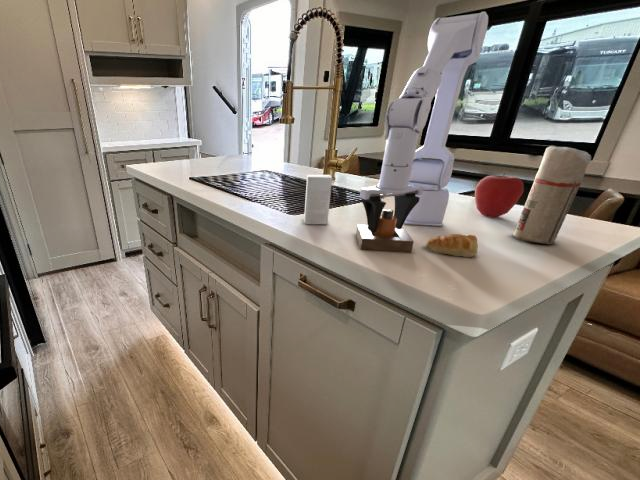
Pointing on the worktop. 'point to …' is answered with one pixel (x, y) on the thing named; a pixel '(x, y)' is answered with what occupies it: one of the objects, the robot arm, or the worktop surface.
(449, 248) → the pastry
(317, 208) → the cosmetic box
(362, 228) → the holder
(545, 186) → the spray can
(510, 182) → the apple
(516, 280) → the worktop surface
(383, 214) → the bottle
